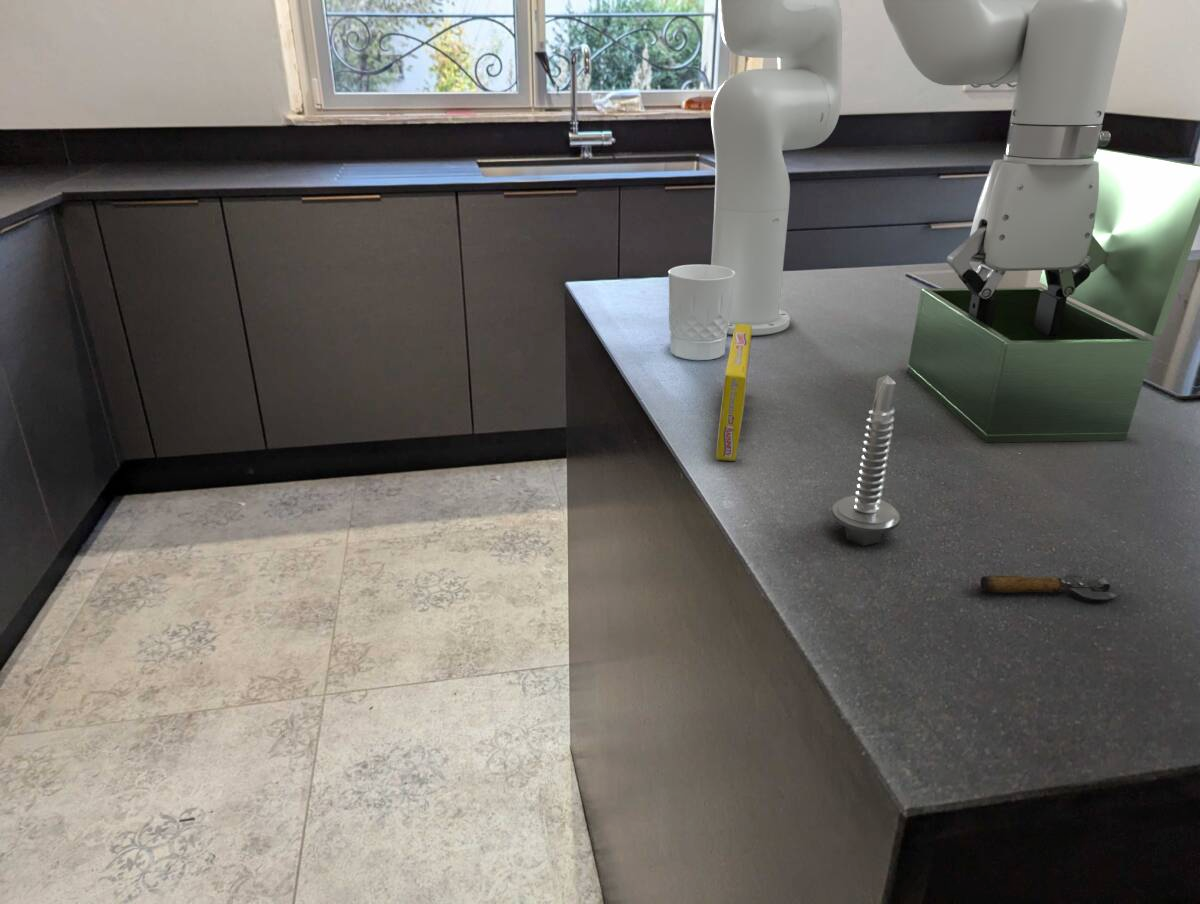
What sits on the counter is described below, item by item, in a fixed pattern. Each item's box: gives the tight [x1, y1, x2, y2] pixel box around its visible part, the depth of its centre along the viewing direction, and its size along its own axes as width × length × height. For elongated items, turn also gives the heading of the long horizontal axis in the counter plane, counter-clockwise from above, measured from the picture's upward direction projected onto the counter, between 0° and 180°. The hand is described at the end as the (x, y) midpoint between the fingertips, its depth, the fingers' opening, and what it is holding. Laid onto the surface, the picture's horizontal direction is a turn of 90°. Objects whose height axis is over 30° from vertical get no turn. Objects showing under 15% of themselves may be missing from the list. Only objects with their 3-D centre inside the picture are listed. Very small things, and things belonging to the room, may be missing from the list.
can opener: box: [980, 573, 1122, 601], centre depth 56 cm, size 9×2×1 cm, turn 83°
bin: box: [906, 286, 1156, 444], centre depth 85 cm, size 14×20×10 cm
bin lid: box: [1038, 147, 1200, 337], centre depth 80 cm, size 14×20×6 cm
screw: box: [831, 374, 901, 547], centre depth 60 cm, size 13×5×5 cm
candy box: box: [715, 324, 752, 462], centre depth 79 cm, size 16×2×8 cm, turn 168°
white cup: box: [668, 263, 735, 361], centre depth 100 cm, size 8×8×10 cm
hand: (1011, 332), depth 83 cm, fingers open, 6 cm apart
